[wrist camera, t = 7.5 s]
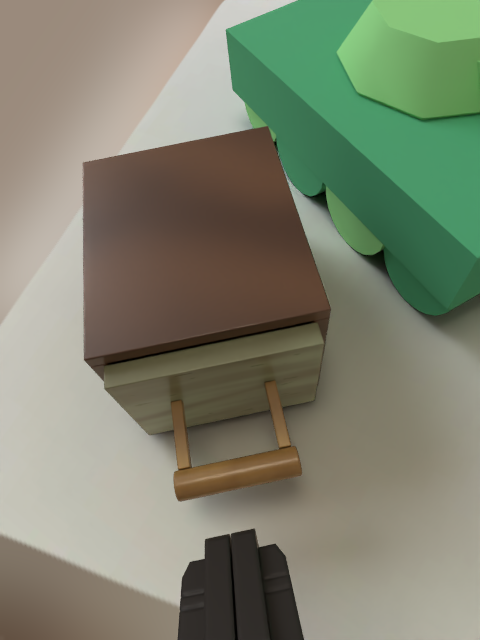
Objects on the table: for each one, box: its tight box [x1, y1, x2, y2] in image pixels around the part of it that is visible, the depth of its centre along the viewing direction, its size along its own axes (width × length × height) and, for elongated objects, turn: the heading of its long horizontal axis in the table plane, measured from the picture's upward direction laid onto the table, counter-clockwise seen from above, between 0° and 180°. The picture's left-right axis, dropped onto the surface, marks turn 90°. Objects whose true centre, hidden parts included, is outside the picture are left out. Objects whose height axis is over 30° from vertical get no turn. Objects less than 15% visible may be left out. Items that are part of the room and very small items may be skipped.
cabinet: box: [83, 126, 331, 386], centre depth 28 cm, size 14×12×10 cm
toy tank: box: [226, 0, 480, 316], centre depth 31 cm, size 18×12×35 cm
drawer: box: [104, 322, 324, 502], centre depth 26 cm, size 17×10×8 cm, turn 11°
